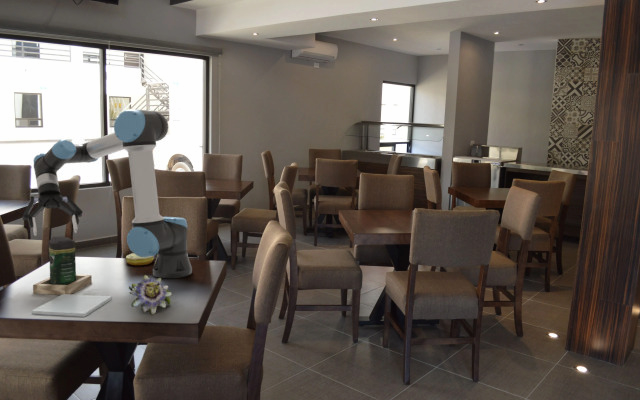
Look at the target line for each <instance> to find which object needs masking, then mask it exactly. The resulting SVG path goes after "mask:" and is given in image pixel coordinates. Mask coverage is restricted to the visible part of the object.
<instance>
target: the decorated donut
mask: <svg viewBox="0 0 640 400" xmlns="http://www.w3.org/2000/svg"><path fill="white" fill-rule="evenodd" d="M125 258H126V259H125V260H126V263H127V264H128V265H132V266H145V265H149V264H151V263H152V262H153V260H154V258H155V255H154V256H149V257H139V256H137V255H135V253H134V252H131V253H129V254H127V255H126V257H125Z"/></svg>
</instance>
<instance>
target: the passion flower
mask: <svg viewBox="0 0 640 400" xmlns="http://www.w3.org/2000/svg"><path fill="white" fill-rule="evenodd" d="M128 289H129V290H130V292H129V294H130V295H132V296H135V297H136V299H134V300H133V301H132V302H131V307H132V308H133V307H138V306H139V305H140V306H141V310H142V312H143V313H144V314H145V313H147V312H150V314H151V315H155V314H156V311H157V307H161V308H163V309H165V308H166V307H167V305H168V306H170V305H171V302H172V301H171V298H170V297H171V296H172V295H173V294H172V292H171V291H169V290H168V289H169V286H168V285H163V284H162V278H159V277H157V278H156V279H153V280H152V277H151V278H149V276H148V275H146V274H144V275H143V277H142V280H141V281H140V282H137V283H132V284H131V286H130V285H129V286H128Z"/></svg>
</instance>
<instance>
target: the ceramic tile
mask: <svg viewBox="0 0 640 400" xmlns="http://www.w3.org/2000/svg"><path fill="white" fill-rule="evenodd" d="M111 300H112V296H109V295H108V296H107V295H105V296H104V295H87V294H73V293H72V294H62V295H59V296H58V295H57V297H55V298H53V299H51V300H49V301H48V302H45V303H43V304H42V305H39V306H38V307H36V308H34V309H32V310H31V314H32V315H45V316H47V315H48V316H65V317H66V316H67V317H81V318H82V317H83V318H85V317H87V316H88V315H90V314H91V313H94V312H95V311H96V310H97V309H99V308H100V307H102V306H104V305H105V304H107V303H108V302H109V301H111Z"/></svg>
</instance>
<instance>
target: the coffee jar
mask: <svg viewBox="0 0 640 400" xmlns="http://www.w3.org/2000/svg"><path fill="white" fill-rule="evenodd" d="M48 253H49V277H50V284H51V285H69V284H71V283H73V282H75V281H76V274H77V271H76V270H77V269H76V268H77V267H76V265H77V264H76V241H75V240H74V239H71V238H70V237H66V236H64V235H63V236H55V237H52V238H51V239H49V241H48Z"/></svg>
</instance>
